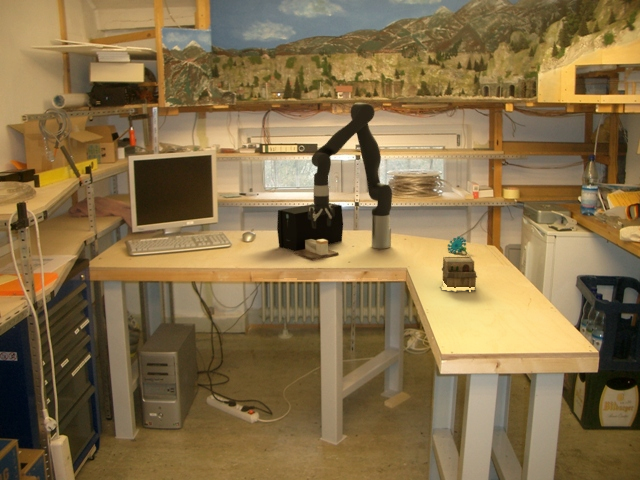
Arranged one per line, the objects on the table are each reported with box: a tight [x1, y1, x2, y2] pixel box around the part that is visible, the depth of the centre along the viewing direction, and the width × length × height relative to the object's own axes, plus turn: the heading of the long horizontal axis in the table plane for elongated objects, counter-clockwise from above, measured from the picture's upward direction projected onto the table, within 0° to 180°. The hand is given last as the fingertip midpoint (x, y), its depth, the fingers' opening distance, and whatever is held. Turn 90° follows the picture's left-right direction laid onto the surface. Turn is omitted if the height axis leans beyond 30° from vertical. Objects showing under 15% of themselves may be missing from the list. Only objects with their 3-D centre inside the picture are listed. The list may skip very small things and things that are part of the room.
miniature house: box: [441, 256, 478, 288], centre depth 251 cm, size 15×14×11 cm
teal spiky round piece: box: [447, 236, 468, 255], centre depth 305 cm, size 11×6×10 cm
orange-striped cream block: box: [316, 239, 329, 255], centre depth 301 cm, size 4×5×7 cm
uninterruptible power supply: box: [276, 202, 344, 252], centre depth 324 cm, size 16×34×20 cm, turn 131°
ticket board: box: [293, 239, 339, 261], centre depth 305 cm, size 16×16×6 cm
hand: (321, 227), depth 298 cm, fingers open, 8 cm apart
